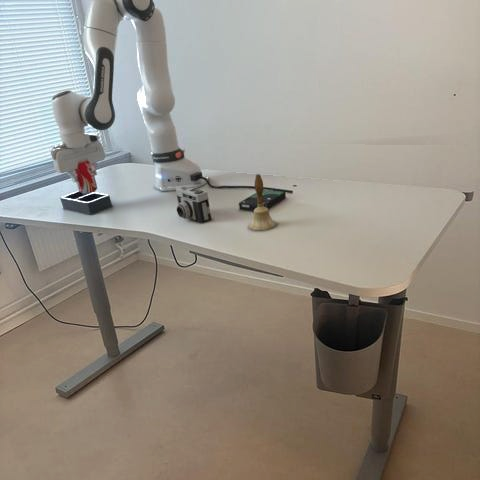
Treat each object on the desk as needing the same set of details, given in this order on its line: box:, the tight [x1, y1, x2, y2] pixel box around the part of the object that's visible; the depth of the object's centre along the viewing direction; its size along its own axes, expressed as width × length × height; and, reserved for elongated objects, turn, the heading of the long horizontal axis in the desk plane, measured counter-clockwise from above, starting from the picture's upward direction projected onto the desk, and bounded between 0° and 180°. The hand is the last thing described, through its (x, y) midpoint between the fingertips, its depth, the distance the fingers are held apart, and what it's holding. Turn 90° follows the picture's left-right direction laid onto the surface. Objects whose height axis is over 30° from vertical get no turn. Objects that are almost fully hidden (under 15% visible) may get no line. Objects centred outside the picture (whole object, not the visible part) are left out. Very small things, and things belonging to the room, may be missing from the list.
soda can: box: [73, 159, 98, 194], centre depth 185 cm, size 7×7×12 cm
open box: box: [59, 190, 113, 216], centre depth 194 cm, size 19×10×5 cm, turn 49°
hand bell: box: [249, 173, 277, 232], centre depth 150 cm, size 8×8×16 cm
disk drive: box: [238, 189, 287, 212], centre depth 171 cm, size 10×3×15 cm
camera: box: [175, 186, 212, 224], centre depth 165 cm, size 14×8×10 cm, turn 37°
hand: (85, 178), depth 186 cm, fingers closed on soda can, 7 cm apart
